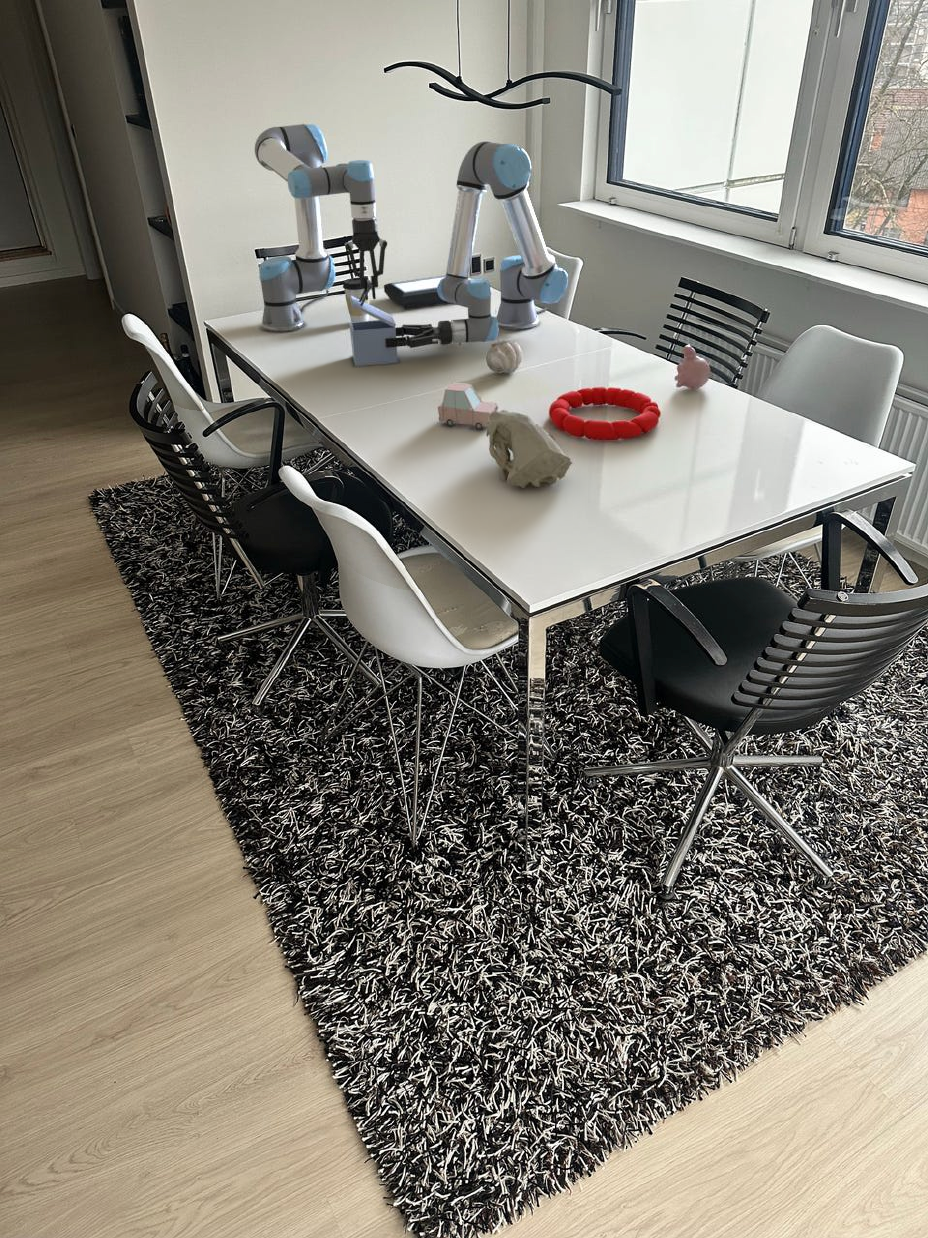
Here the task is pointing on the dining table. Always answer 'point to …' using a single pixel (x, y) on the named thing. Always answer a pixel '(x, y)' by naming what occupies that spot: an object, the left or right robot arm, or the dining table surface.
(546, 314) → the dining table surface
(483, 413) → the toy car
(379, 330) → the chest
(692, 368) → the figurine
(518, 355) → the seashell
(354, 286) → the coffee cup
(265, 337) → the dining table surface
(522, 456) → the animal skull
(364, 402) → the dining table surface
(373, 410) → the dining table surface
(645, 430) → the decorative ring
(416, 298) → the electronic device
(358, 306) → the lid
